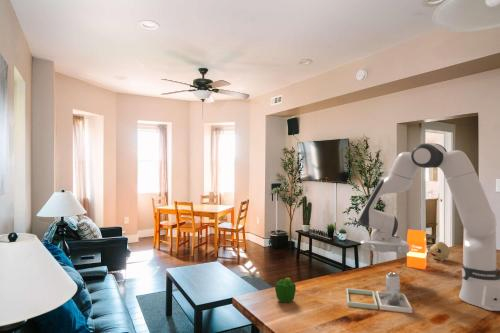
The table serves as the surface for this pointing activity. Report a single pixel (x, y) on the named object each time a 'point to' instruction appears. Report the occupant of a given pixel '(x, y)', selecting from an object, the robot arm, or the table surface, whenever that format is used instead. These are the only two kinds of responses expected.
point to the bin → (362, 305)
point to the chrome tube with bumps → (393, 289)
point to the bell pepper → (285, 290)
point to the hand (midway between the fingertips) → (387, 250)
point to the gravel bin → (402, 307)
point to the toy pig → (439, 251)
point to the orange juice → (416, 249)
